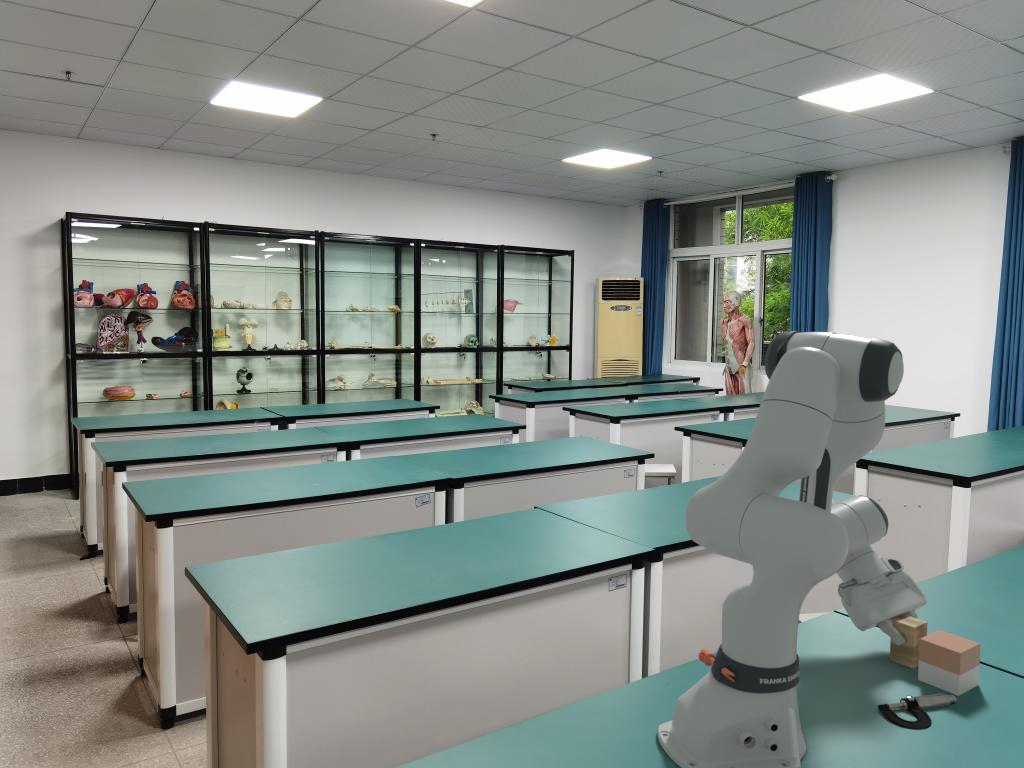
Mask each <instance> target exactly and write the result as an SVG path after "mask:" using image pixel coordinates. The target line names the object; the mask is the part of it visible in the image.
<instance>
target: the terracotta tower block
mask: <svg viewBox="0 0 1024 768" xmlns="http://www.w3.org/2000/svg"><path fill="white" fill-rule="evenodd" d="M919 660H920V661H923V662H925V663H928V664H931V665H933V666H936V667H939V668H941V669H944V670H947V671H949V672H952V673H954V674H957V675H962V674H964V673H966V672H967V671H969V670H971V669H973V668H975V667H977V666H979V667H980V665H981V664H980V661H981V643H980V642H977V641H975V640H971V639H968V638H966V637H962V636H959V635H956V634H953V633H950V632H947V631H944V630H942V629H938V630H937V631H934V632H932V633H929V634H927V636H925V637H923V638H920V644H919Z"/></svg>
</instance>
